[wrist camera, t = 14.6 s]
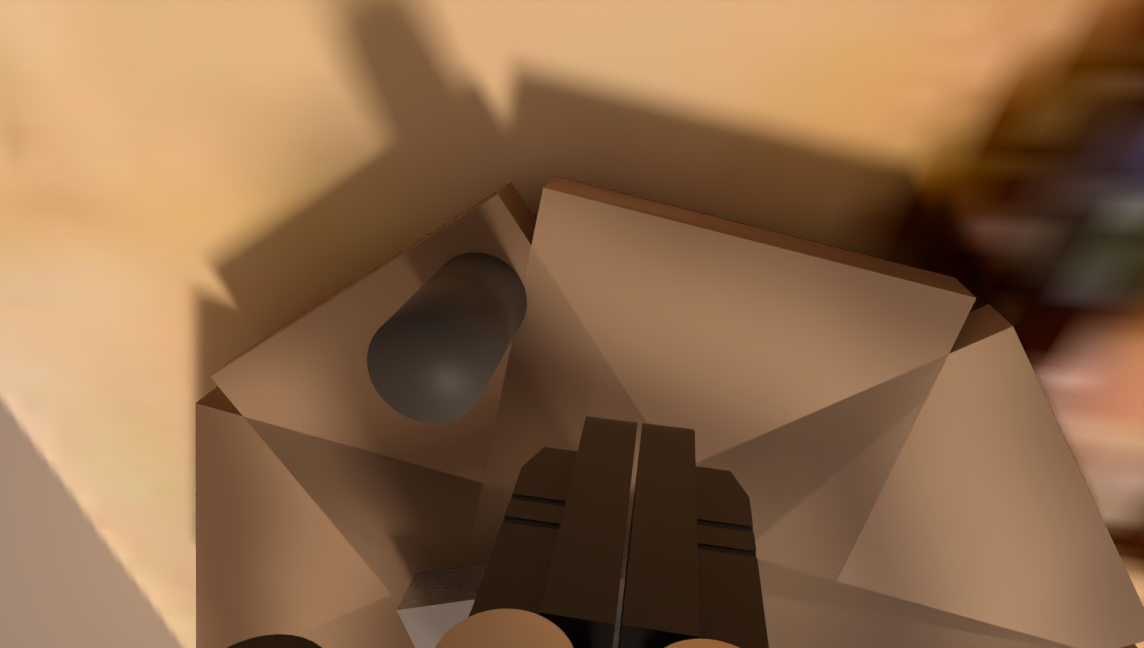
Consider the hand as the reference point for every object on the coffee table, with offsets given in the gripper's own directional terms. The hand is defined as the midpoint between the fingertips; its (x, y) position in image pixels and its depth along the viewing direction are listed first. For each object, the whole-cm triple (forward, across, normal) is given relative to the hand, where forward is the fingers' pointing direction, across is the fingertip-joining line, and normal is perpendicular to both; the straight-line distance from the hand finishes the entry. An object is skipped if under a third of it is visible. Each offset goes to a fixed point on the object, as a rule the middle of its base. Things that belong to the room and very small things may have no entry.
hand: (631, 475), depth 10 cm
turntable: (+9, 0, +12) cm, 15 cm away
